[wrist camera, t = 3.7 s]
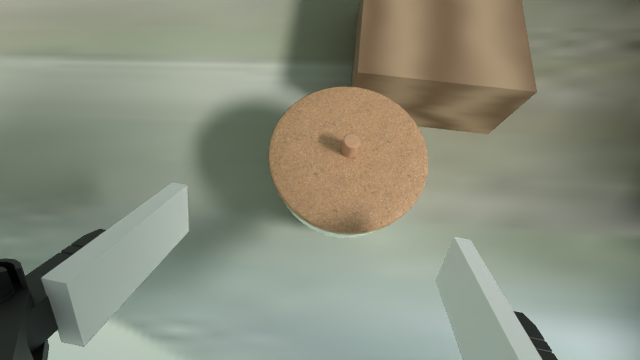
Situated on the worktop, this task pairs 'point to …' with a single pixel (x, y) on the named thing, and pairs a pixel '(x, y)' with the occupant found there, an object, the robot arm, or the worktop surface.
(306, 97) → the lidded jar
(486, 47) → the walnut block
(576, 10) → the worktop surface
